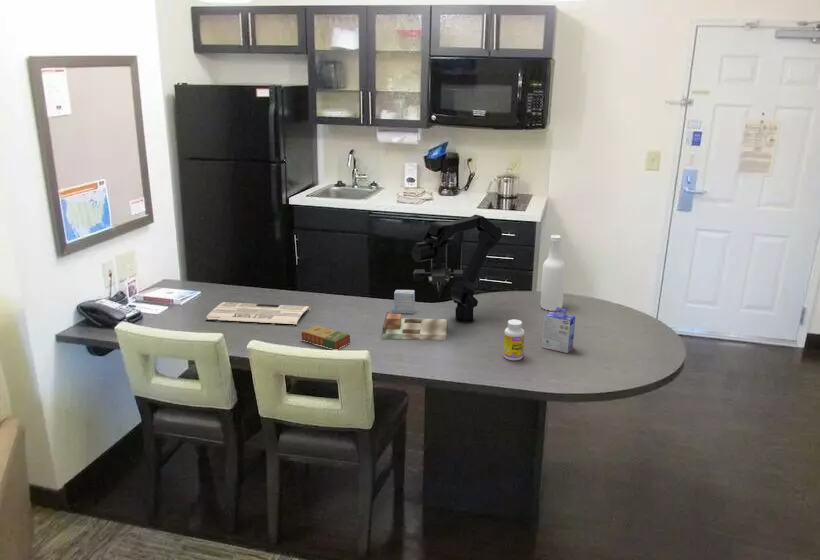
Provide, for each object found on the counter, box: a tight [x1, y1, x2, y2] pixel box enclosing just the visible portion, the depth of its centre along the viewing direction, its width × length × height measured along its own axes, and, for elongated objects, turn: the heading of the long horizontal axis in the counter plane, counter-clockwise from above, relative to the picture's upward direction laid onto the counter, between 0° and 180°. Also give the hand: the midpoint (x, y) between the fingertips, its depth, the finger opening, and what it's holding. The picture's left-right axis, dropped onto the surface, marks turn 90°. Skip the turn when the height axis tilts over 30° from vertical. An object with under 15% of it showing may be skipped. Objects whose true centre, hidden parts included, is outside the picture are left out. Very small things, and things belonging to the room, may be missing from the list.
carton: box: [301, 324, 351, 349], centre depth 240 cm, size 8×16×4 cm, turn 56°
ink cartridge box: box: [541, 307, 576, 354], centre depth 232 cm, size 10×6×14 cm, turn 58°
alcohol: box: [540, 234, 566, 312], centre depth 266 cm, size 9×9×30 cm
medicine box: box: [393, 289, 416, 315], centre depth 267 cm, size 8×4×9 cm, turn 84°
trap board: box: [382, 311, 448, 341], centre depth 249 cm, size 23×15×4 cm, turn 86°
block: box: [387, 313, 402, 329], centre depth 248 cm, size 5×5×4 cm
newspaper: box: [205, 301, 312, 326], centre depth 265 cm, size 37×19×3 cm, turn 81°
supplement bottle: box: [503, 318, 525, 361], centre depth 226 cm, size 7×7×13 cm
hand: (438, 297), depth 249 cm, fingers closed
